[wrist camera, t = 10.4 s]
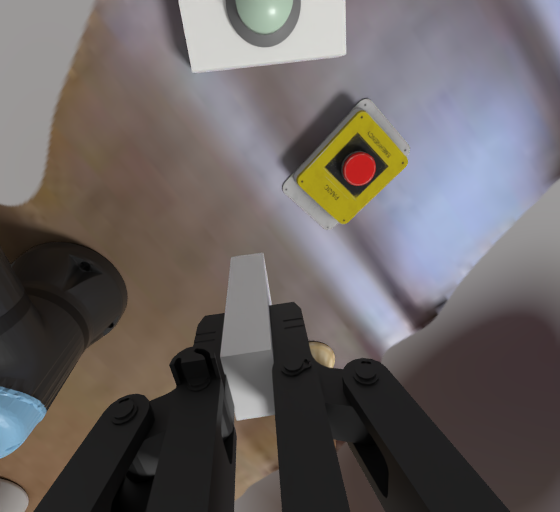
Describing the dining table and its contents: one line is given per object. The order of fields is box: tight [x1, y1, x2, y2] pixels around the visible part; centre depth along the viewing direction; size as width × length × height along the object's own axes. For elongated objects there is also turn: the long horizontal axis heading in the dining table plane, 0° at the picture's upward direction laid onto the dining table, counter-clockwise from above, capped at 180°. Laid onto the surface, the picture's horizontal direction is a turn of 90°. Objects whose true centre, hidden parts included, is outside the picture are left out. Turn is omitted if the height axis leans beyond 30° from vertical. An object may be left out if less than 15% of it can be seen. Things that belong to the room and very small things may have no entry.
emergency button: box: [283, 99, 410, 230], centre depth 42 cm, size 9×4×15 cm
